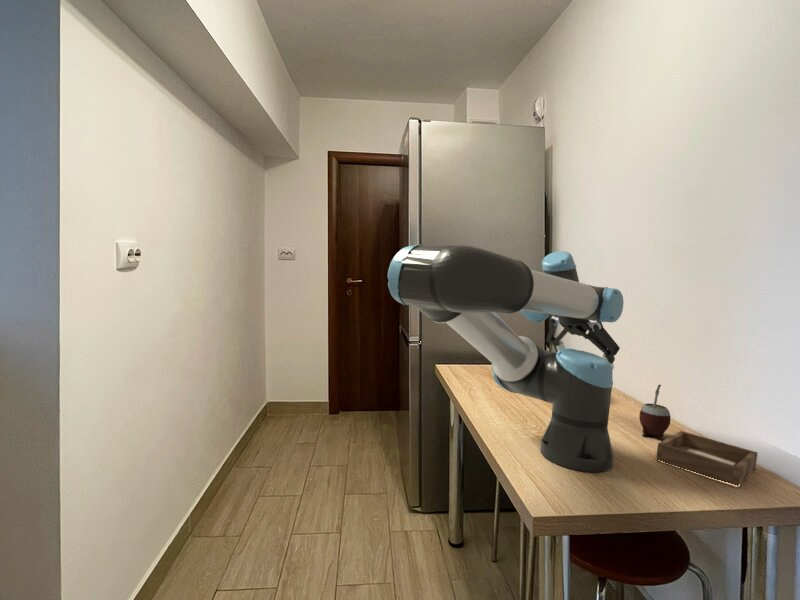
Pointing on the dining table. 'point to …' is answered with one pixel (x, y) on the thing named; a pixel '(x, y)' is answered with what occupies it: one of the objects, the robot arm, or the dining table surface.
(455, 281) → the robot arm
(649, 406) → the mate gourd
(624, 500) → the dining table surface
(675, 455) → the tray
